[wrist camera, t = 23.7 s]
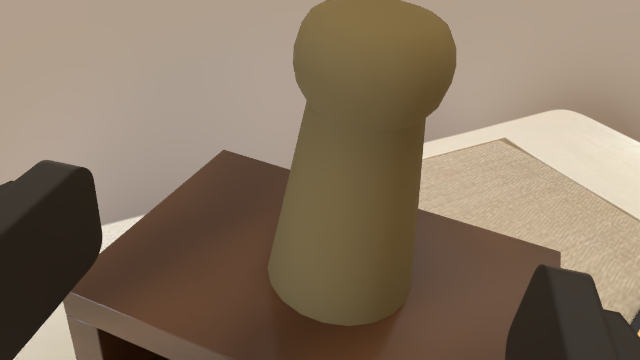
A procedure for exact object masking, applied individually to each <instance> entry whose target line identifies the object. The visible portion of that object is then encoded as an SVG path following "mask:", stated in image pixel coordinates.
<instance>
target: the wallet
mask: <svg viewBox="0 0 640 360" xmlns="http://www.w3.org/2000/svg"><path fill="white" fill-rule="evenodd" d="M630 326H631V327H632V328H633V330H634V331H635V332H636V333H637V334H638V336H639V337H640V310H639V312H638V313H637V315H636V317H635V318H634V320H633V321H632V323H631V324H630Z"/></svg>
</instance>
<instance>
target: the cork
mask: <svg viewBox="0 0 640 360" xmlns="http://www.w3.org/2000/svg"><path fill="white" fill-rule="evenodd" d="M293 66H294V71H295V77H296V81H297V83H298V86H299V88H300V89H301V91H302V93H303V95H304V96H305V98H306V100H307V103H306V106H305V111H304V115H303V119H302V123H301V128H300V132H299V136H298V141H297V144H296V149H295V153H294V158H293V162H292V166H291V170H290V174H289V178H288V183H287V187H286V191H285V195H284V200H283V204H282V208H281V212H280V217H279V221H278V225H277V229H276V234H275V238H274V242H273V246H272V250H271V255H270V259H269V263H268V268H267V269H268V274H269V278H270V283H271V286H272V287H273V288H274V290H275V291H276V293H277V294H278V295H279V297H280V298H281V300H282V301H283V302H285V303H286V304H287V305H289V306H290V307H292V308H293V309H294V310H296V311H297V312H298V313H300V314H302V315H304V316H307V317H309V318H312V319H315V320H317V321H320V322H322V323H328V324H336V325H343V326H354V325H362V324H370V323H374V322H377V321H379V320H381V319H383V318H386V317H388V316H390V315H392V314H393V313H394V312H396V311H397V310H398V309H399V308H400V307H401V306H402V305H403V304H404V303H405V302H406V299H407V296H408V294H409V291H410V289H411V283H412V272H413V260H414V248H415V237H416V225H417V213H418V202H419V190H420V178H421V167H422V155H423V143H424V131H425V119H426V117H427V116H428V115H430V114H431V113H432V112H433V111H435V110H436V109H437V108H438V107H439V105H440V103H441V101H442V99H443V97H444V96H445V94H446V92H447V90H448V88H449V86H450V85H451V83H452V79H453V75H454V72H455V68H456V47H455V43H454V40H453V37H452V34H451V31H450V29H449V27H448V25H447V24H446V23H445V22H444V21H443V20H442V19H441V18H440V17H438V16H437V15H436V14H434V13H433V12H431V11H429V10H427V9H425V8H422V7H420V6H417V5H413V4H411V3H407V2H404V1H401V0H326V1H324V2H323V3H320V4H318V5H317V6H315V7H313V8H312V9H311V10H310V11H309V13H308V14H307V16H306V17H305V18H304V20H303V21H302V23H301V26H300V29H299V32H298V35H297V38H296V41H295V44H294V55H293Z"/></svg>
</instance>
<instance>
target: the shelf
mask: <svg viewBox="0 0 640 360" xmlns="http://www.w3.org/2000/svg"><path fill="white" fill-rule="evenodd" d="M289 174H290V170H288V169H285V168H282V167H279V166H276V165H272V164H269V163H266V162H262V161H259V160H256V159H253V158H249V157H246V156H242V155H239V154H236V153H233V152H230V151H226V150H223V151H221V152H220V153H219V154H218V155H217V156H216V157H214V158H213V159H212V160H211V161H210V162H208V163H207V164H206V165H205V166H204V167H202V168H201V169H200V170H199V171H198V172H196V173H195V174H194V175H193V176H192V177H191V178H189V179H188V180H187V181H186V182H185V183H183V184H182V185H181V186H180V187H179V188H177V189H176V190H175V191H174V192H173V193H171V194H170V195H169V196H168V197H167V198H165V199H164V200H163V201H162V202H161V203H160V204H158V205H157V206H156V207H155V208H154V209H152V210H151V211H150V212H149V213H148V214H146V215H145V216H144V217H143V218H142V219H140V220H139V221H138V222H137V223H136V224H135V225H133V226H132V227H131V228H130V229H129V230H127V231H126V232H125V233H124V234H123V235H121V236H120V237H119V238H118V239H117V240H115V241H114V242H113V243H112V244H111V245H110V246H108V247H107V248H106V249H105V250H104V251H102V252H101V253H100V254H99V255H98V257H97V259H96V261H95V263H94V264H93V266H92V267H91V268H90V269H89V271H88V272H87V273H86V274H85V275H84V276H83V278H82V279H81V280H80V281H79V282H78V284H77V285H76V286H75V287H74V288H73V289H72V291H71V292H70V293H69V294H68V295H67V296H66V298H65V299H64V300H63V303H64V308H65V312H66V314H67V315H66V316H67V320H68V325H69V329H70V333H71V338H72V342H73V346H74V350H75V355H76V359H77V360H505V351H506V342H507V337H508V333H509V329H510V326H511V324H512V321H513V319H514V317H515V315H516V312H517V310H518V308H519V305H520V303H521V301H522V299H523V296H524V294H525V292H526V289H527V287H528V285H529V282H530V280H531V278H532V276H533V273H534V271H535V270H536V268H537V267H538V266H539V265H541V264H544V265H548V266H553V267H558V268H560V260H561V253H560V252H559V251H555V250H552V249H549V248H546V247H542V246H539V245H536V244H532V243H529V242H526V241H523V240H519V239H516V238H513V237H509V236H506V235H503V234H499V233H496V232H493V231H490V230H486V229H483V228H480V227H476V226H473V225H470V224H467V223H463V222H460V221H457V220H453V219H450V218H447V217H443V216H440V215H437V214H434V213H430V212H427V211H424V210H420V209H418V213H417V225H416V237H415V248H414V260H413V272H412V283H411V289H410V291H409V294H408V296H407V299H406V302H405V303H404V304H403V305H402V306H401V307H400V308H399V309H398V310H397V311H396V312H394V313H393V314H392V315H390V316H388V317H386V318H383V319H381V320H379V321H377V322H374V323H370V324H362V325H354V326H343V325H336V324H328V323H322V322H320V321H317V320H315V319H312V318H309V317H307V316H304V315H302V314H300V313H298V312H297V311H296V310H294V309H293V308H292V307H290V306H289V305H287V304H286V303H285V302H283V301H282V300H281V298H280V297H279V295H278V294H277V293H276V291H275V290H274V288H273V287H272V286H271V283H270V278H269V274H268V269H267V268H268V263H269V259H270V255H271V250H272V246H273V242H274V238H275V234H276V229H277V225H278V221H279V217H280V212H281V208H282V204H283V200H284V195H285V191H286V187H287V183H288V178H289Z"/></svg>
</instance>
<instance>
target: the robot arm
mask: <svg viewBox="0 0 640 360" xmlns="http://www.w3.org/2000/svg"><path fill="white" fill-rule="evenodd" d="M101 245H102V229H101V223H100V216H99V210H98V204H97V197H96V191H95V185H94V179H93V176H92V173H91V172H90V171H89V170H88V169H87V168H84V167H79V166H74V165H70V164H65V163H60V162H55V161H50V160H43V161H41V162H39V163H38V164H36V165H35V166H34V167H32V168H31V169H30V170H28V171H27V172H26V173H24V174H23V175H22V176H21V177H19V178H18V179H17V180H15V181H9V182H7V183H5V184H3V185H0V360H13V359H14V358H15V356H16V355H17V354H18V353H19V352H20V351H21V349H22V348H23V347H24V346H25V345H26V344H27V342H28V341H29V340H30V339H31V338H32V336H33V335H34V334H35V333H36V332H37V331H38V329H39V328H40V327H41V326H42V325H43V324H44V322H45V321H46V320H47V319H48V318H49V316H50V315H51V314H52V313H53V312H54V311H55V309H56V308H57V307H58V306H59V305H60V304H61V302H62V301H63V300H64V299H65V298H66V296H67V295H68V294H69V293H70V292H71V291H72V289H73V288H74V287H75V286H76V285H77V284H78V282H79V281H80V280H81V279H82V278H83V276H84V275H85V274H86V273H87V272H88V271H89V269H90V268H91V267H92V266H93V264H94V263H95V261H96V259H97V257H98V255H99V252H100V249H101ZM505 360H640V337H639V336H638V334H637V333H636V332H635V331H634V330H633V328H632V327H631V326H630V325H629V324H628V322H627V321H626V320H625V319H624V318H623V316H622V315H621V314H620V313H619V312H614V311H609V310H605V309H603V308H602V304H601V301H600V298H599V295H598V292H597V289H596V286H595V283H594V281H593V278H592V277H591V276H590V275H589V274H587V273H582V272H577V271H572V270H568V269H563V268H558V267H553V266H548V265H544V264H541V265H539V266H538V267H537V268H536V270H535V271H534V273H533V276H532V278H531V280H530V282H529V285H528V287H527V289H526V292H525V294H524V296H523V299H522V301H521V303H520V305H519V308H518V310H517V312H516V315H515V317H514V319H513V321H512V324H511V326H510V329H509V333H508V337H507V342H506V351H505Z"/></svg>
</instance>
